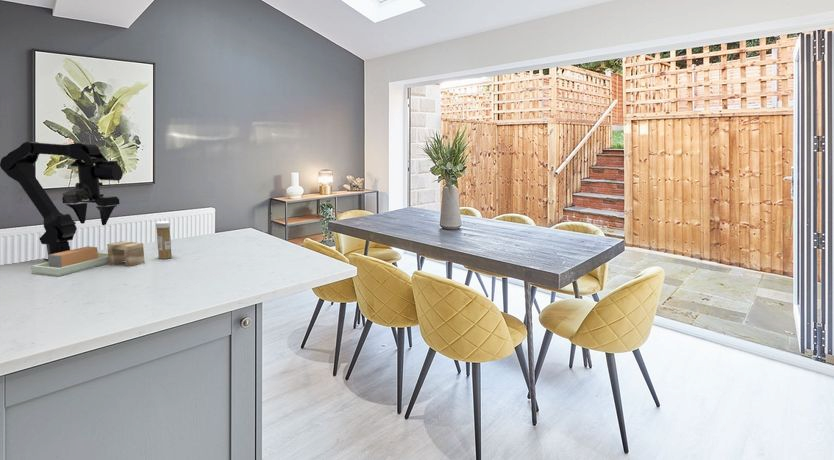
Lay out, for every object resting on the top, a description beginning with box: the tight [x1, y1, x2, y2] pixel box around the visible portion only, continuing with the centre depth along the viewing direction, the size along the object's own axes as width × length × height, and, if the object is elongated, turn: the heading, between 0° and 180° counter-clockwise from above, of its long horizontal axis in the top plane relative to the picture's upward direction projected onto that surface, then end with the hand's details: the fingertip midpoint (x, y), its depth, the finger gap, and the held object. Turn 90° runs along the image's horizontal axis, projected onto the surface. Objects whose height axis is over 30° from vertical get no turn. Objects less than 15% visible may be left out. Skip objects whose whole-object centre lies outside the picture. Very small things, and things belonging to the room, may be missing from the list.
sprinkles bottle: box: [155, 220, 173, 260], centre depth 170 cm, size 5×5×14 cm
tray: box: [30, 252, 109, 277], centre depth 155 cm, size 11×22×2 cm, turn 167°
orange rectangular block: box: [47, 246, 98, 268], centre depth 154 cm, size 4×14×5 cm, turn 167°
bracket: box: [106, 240, 145, 267], centre depth 161 cm, size 9×6×7 cm, turn 77°
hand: (93, 224), depth 162 cm, fingers open, 9 cm apart
